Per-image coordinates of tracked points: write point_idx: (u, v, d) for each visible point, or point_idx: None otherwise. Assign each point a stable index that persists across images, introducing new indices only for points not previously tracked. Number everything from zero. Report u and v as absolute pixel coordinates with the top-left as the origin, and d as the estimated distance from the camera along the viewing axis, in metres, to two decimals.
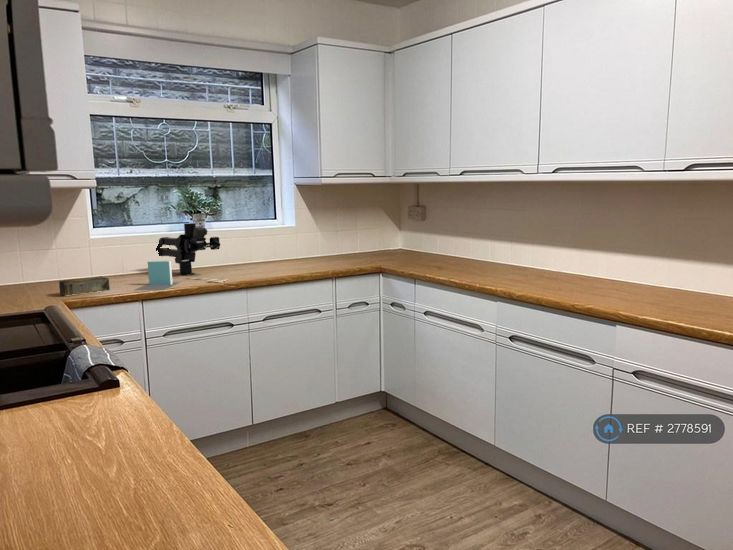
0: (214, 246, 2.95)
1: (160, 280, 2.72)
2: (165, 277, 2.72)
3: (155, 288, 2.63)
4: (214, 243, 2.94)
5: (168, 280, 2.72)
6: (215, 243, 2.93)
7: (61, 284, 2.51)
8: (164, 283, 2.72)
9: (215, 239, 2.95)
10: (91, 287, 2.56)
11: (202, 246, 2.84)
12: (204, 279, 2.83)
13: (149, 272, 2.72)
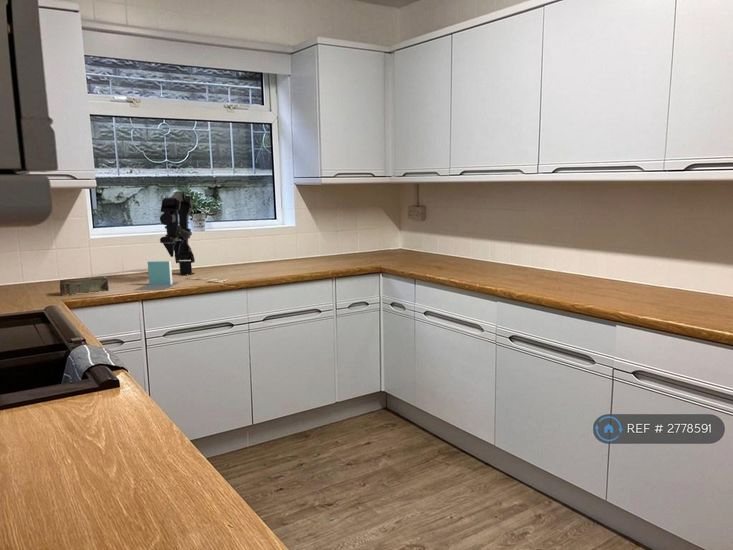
0: None
1: (160, 280, 2.72)
2: (165, 277, 2.72)
3: (155, 288, 2.63)
4: (177, 244, 2.88)
5: (168, 280, 2.72)
6: (177, 246, 2.88)
7: (60, 283, 2.53)
8: (164, 283, 2.72)
9: (181, 242, 2.89)
10: (89, 288, 2.56)
11: (171, 255, 2.81)
12: (204, 279, 2.83)
13: (149, 272, 2.72)
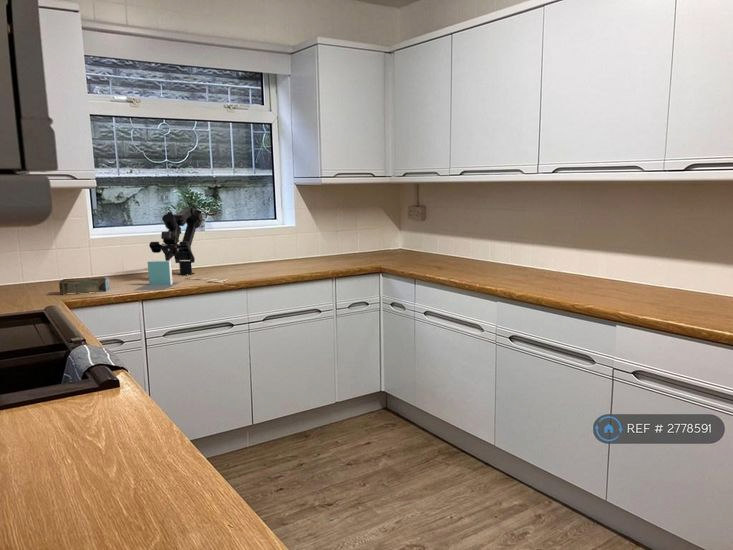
0: None
1: (160, 280, 2.72)
2: (165, 277, 2.72)
3: (155, 288, 2.63)
4: None
5: (168, 280, 2.72)
6: None
7: None
8: (164, 283, 2.72)
9: (171, 248, 2.82)
10: (86, 288, 2.55)
11: None
12: (204, 279, 2.83)
13: (149, 272, 2.72)
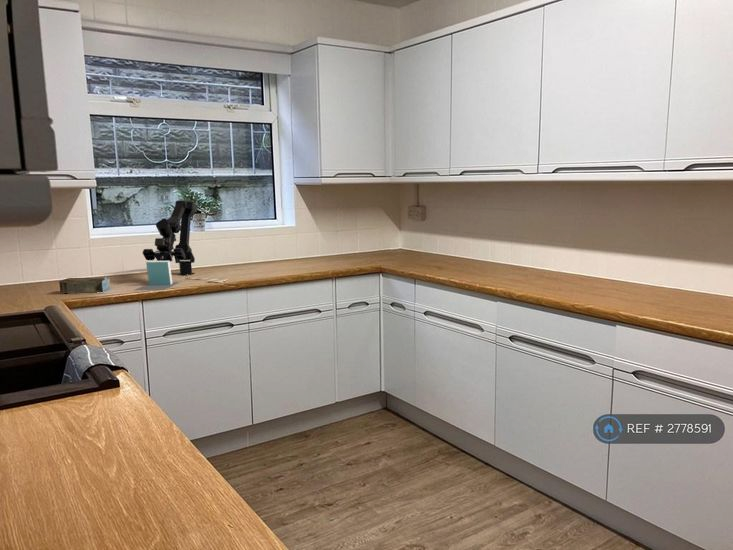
0: None
1: (160, 281, 2.72)
2: (165, 277, 2.71)
3: (155, 288, 2.63)
4: None
5: (168, 280, 2.71)
6: None
7: None
8: (164, 283, 2.72)
9: (165, 255, 2.74)
10: (84, 288, 2.55)
11: None
12: (204, 279, 2.83)
13: (148, 272, 2.71)
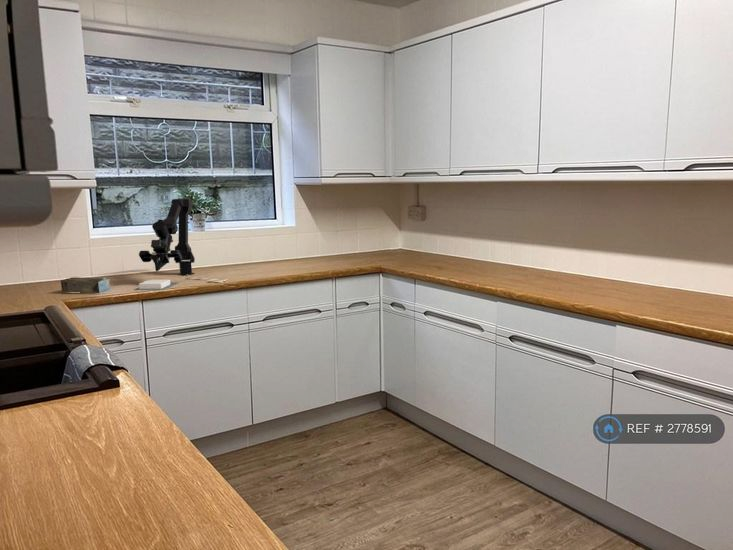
0: None
1: None
2: None
3: None
4: None
5: (166, 285, 2.70)
6: None
7: None
8: None
9: (161, 257, 2.70)
10: (82, 288, 2.55)
11: None
12: (204, 279, 2.83)
13: None
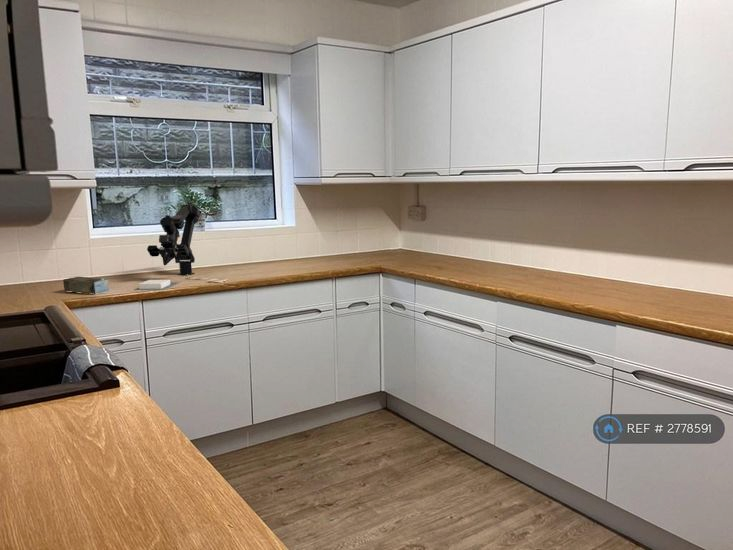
0: None
1: None
2: None
3: None
4: None
5: (166, 285, 2.70)
6: None
7: None
8: None
9: (169, 252, 2.80)
10: (81, 288, 2.55)
11: None
12: (204, 279, 2.83)
13: None
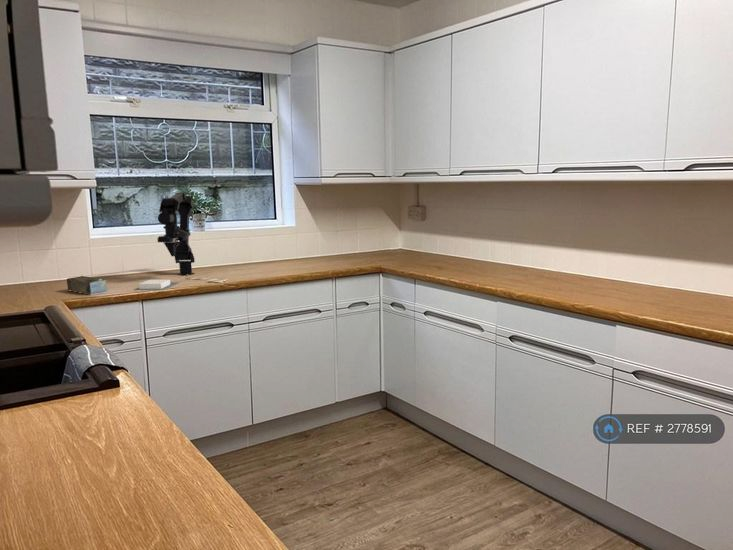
0: None
1: None
2: None
3: None
4: None
5: (166, 285, 2.70)
6: None
7: None
8: None
9: (178, 243, 2.86)
10: (79, 288, 2.56)
11: (172, 255, 2.85)
12: (204, 279, 2.83)
13: None
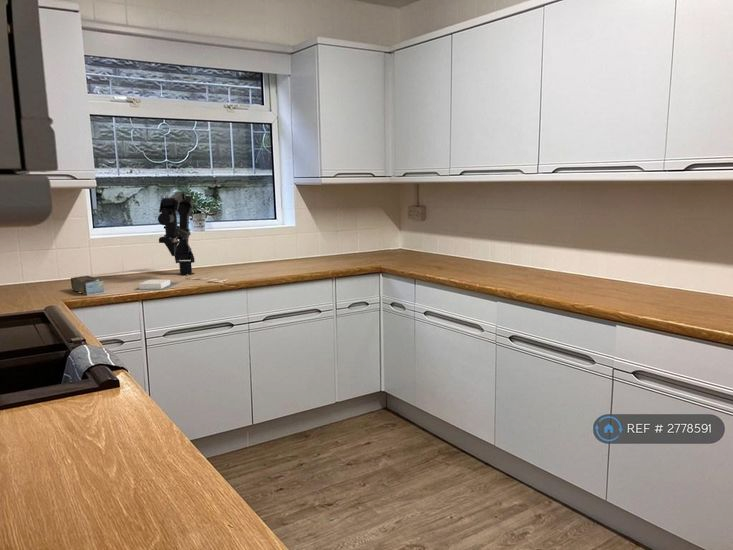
0: None
1: None
2: None
3: None
4: None
5: (166, 285, 2.70)
6: None
7: None
8: None
9: None
10: (79, 288, 2.56)
11: (172, 254, 2.85)
12: (204, 279, 2.83)
13: None
